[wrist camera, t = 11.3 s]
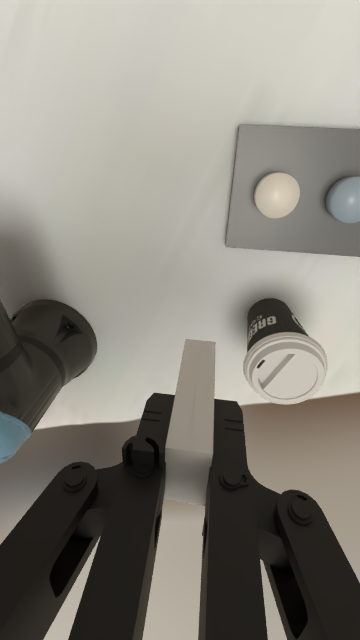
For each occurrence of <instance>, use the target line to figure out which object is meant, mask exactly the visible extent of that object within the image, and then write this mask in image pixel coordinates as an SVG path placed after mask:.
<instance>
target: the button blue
mask: <svg viewBox="0 0 360 640" xmlns="http://www.w3.org/2000/svg"><path fill="white" fill-rule="evenodd" d="M326 208H327V211H328V212H329V214H330V215H331V216H332V217H334V218H336V219H338V220H340V221H342V222H345V223H356V222H360V177H357V176H349V177H345V178H343V179H341V180H339V181H338V182H336V183H335V184H334V185H333V186H332V188H331V189H330V190H329V192H328V195H327V198H326Z"/></svg>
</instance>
